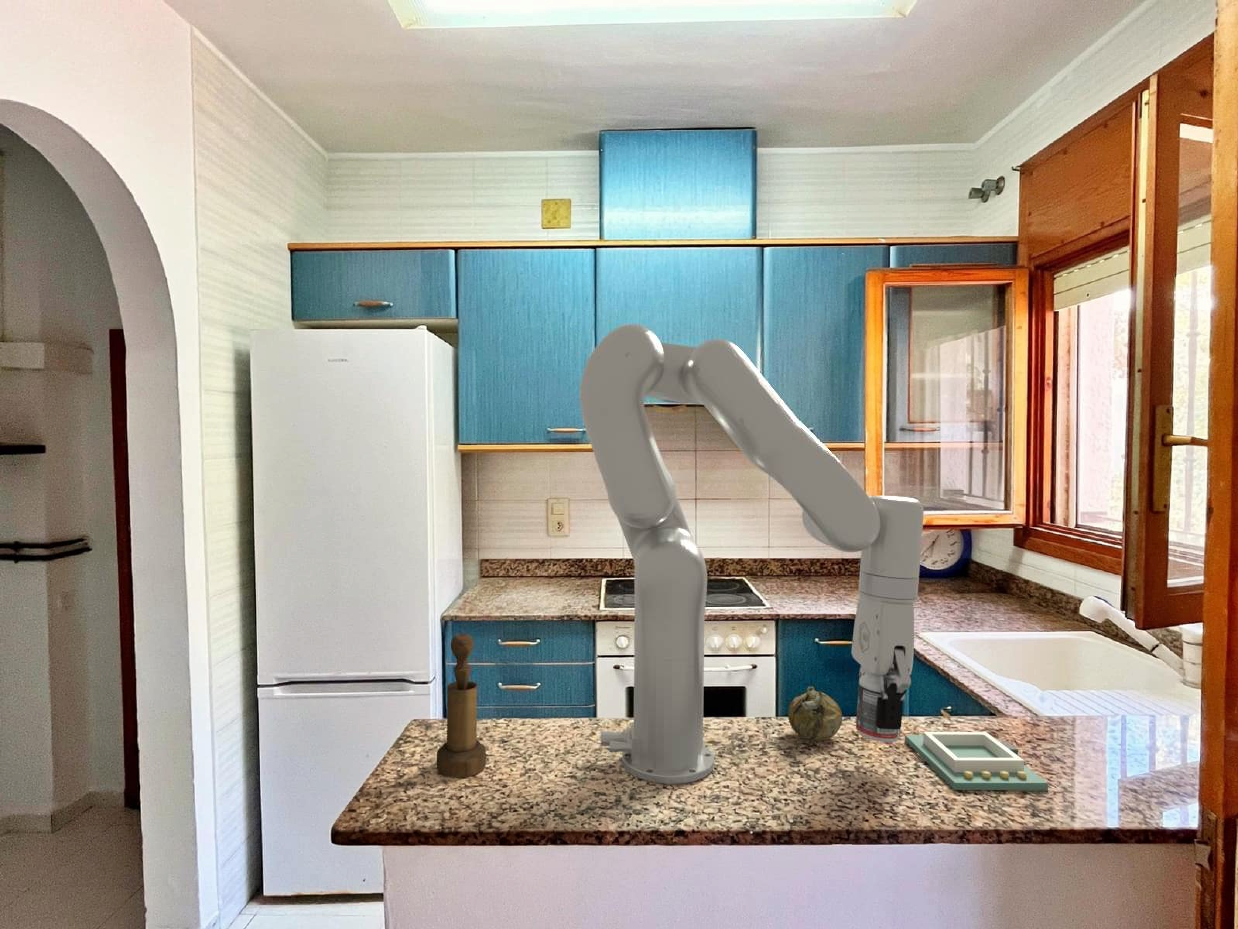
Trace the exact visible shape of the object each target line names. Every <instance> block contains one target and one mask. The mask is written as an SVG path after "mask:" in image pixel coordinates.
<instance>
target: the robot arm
mask: <svg viewBox="0 0 1238 929" xmlns="http://www.w3.org/2000/svg"><path fill="white" fill-rule="evenodd" d="M579 385H580V386H579V404H580V413H581V417H582V420H583V424H584V428H585V431H586V434H587V437H588V440H589V442H590V446H591V448H592V452H593V455H594V459H595V461H596V463H597V467H598V470H599V472H600V475H601V478H602V480H603V483H604V486H605V489H606V492H607V498H608V503H609V505H610V508H611V510H612V512H613V513H614V515H615V516H616V517H617V520H618V522H619V525H620V528H621V531H622V533H623V536H624V539H625V541H626V542H625V543H626V544H627V547H628V549H629V551H630V554H631V557H632V559H633V562H634V580H633V582H634V629H633V630H634V632H633V633H634V634H633V645H634V646H633V649H634V651H633V652H634V656H633V658H634V661H633V662H634V663H633V665H634V666H633V667H634V668H633V669H634V670H633V722H630V729H623V732H621V731H617V732H614V731H611V730H610V731H607V730H606V731H600V747H609V753H619V752H622V753H621V755H622V756H621V763H622V766H623V767H624V769H625V770H626V771H627V772H628V774H631V775H633V776H634V777H636V778H639V779H641V780H643V781H644V780H645V781H647V782H652V783H655V784H656V783H657V784H666V785H678V784H679V785H680V784H687V783H691V782H696V781H699V780H702V779H703V778H705V777H708V775H709V774H711V773H712V771H713V769H714V767H715V757H714V754H713V752H712V751H711V750H710V749H709V748H708V747H707V746H705V745H703V744H704V691H705V690H704V684H705V683H704V681H705V680H704V677H705V676H704V675H705V674H704V672H705V671H704V670H705V620H706V619H705V617H706V616H705V615H706V603H707V593H708V592H707V589H708V588H707V586H708V573H707V572H708V571H707V564H706V560H705V558H704V555H703V552H702V551H701V549H700V547H698V545H697V544H696V542H695V540H694V538H693V536H692V534H691V531H690V528H689V525H688V523H687V520H686V518H685V515H684V512H683V509H682V507H681V505H680V501H679V498H678V495H677V493H676V485H675V482H674V479H673V477H672V475H671V473H670V472H669V470H668V469H667V466H666V465H665V464H666V463H665V462H664V459H663V458H662V455H661V452H660V449H659V447H658V444H657V442H656V439H655V437H654V433H653V429H652V426H651V424H650V421H649V418H648V415H647V412H646V408H645V402H644V401H645V398H649V399H655V400H662V401H670V402H675V403H682V404H683V403H685V404H692V405H703V406H704V407H705V409H707V411H709V413H710V414H711V416H713V418H714V419H715V420H716V421H717V423H718V424H719V425H720V427H722V429H723V430H724V431H725V432H726V434H727V435H728V436H729V438H730V439H731V440H732V442H733V443H734V444H735V445H736V446H737V448H738V449H739V450H740V452H741V453H742V455H744V456H745V457H746V459H748V460H749V461H750V463H752V464H753V465H754V466H755V467H757V468H758V469H759V470H760V471H762V472H763V473H765V474H767V476H769V477H771V478H772V479H773V480H774V481H776V482H777V483H778V484H779V485H780V486H781V487H782V488H783V489H784V490H785V491H786V492H787V493H788V494H789V495H790V496H791V497H792V498H793V500H794V501H795V502H796V503H797V504H798V505H799V506H800V508H801V509H802V512H801V513H802V515H801V518H802V519H801V520H802V523H803V527H804V528H805V530H806V532H807V533H808V534H809V535H810V536H811V537H813V539H815V540H816V541H817V542H819V543H822V544H823V545H824V544H825V545H826V546H829V547H832V548H833V549H835V550H837V551H841V552H843V553H857V552H860V564H859V565H860V566H859V578H858V592H857V594H858V596H859V597H858V601H857V606H856V610H855V617H854V624H853V625H854V626H853V634H852V640H851V641H852V642H851V655H852V658H853V659H854V660H855V661H856V662H857V663H858V664H859V665H860V668H859V673H858V676H859V679H860V678H861V676H862V675H864V674H865V670H864V668H865V669H866V670H868V671H869V672H870V673H871V674H872V675H874V676H879V677H880V693H881V697H878V698H877V712H876V726H877V727H878V728H879V729H896V730H899V729H902V721H903V707H904V706H903V705H904V701H905V700H906V695H905V694H906V693H907V691H908V688H909V687H911V685H912V679H911V676H912V671H913V664H914V653H915V652H914V650H915V609H914V604H916V603H917V602H918V594H919V581H920V577H919V576H920V569H921V568H920V567H921V566H920V565H921V557H922V556H921V554H922V553H921V552H922V551H921V550H922V540H923V528H924V516H925V515H924V512H925V511H924V506H923V504H922V503H921V501H919V500H918V499H915V498H912V497H906V496H895V495H873V496H869V495H868V494H867V492H866V491H865V490H864V488H863V487H862V486H861V485H860V484H859V483H858V481H857V479H855V477H854V476H853V475H852V474H851V472H850V471H849V470H848V469H847V468H846V467H845V465H844V464H843V463H842V462H841V461H840V460H839V459H838V458H837V457H836V456H835V455H834V454H833V453H832V452H831V451H830V450H829V448H827V447H826V446H825V445H824V444H823V443H822V442H821V441H820V440H819V438H817V437H816V436H815V435H814V434H813V433H812V432H811V430H810V429H808V427H807V426H805V424H803V423H802V422H801V421H800V420H799V419H798V418H797V417H796V416H795V414H794V412H792V410H791V409H790V408H789V407H788V406H787V404H785V402H784V401H783V400H782V399H781V398H780V396H779V395H778V393H777V392H776V391H775V390H774V389H773V388H772V386H771V385H770V384H769V382H768V381H767V380H766V379H765V378H764V376H763V375H762V374H761V373H760V371H759V369H757V368H756V366H755V365H754V364H753V363H752V362H751V360H750V359H749V358H748V356H747V355H746V354H745V353H744V352H743V351H742V349H741V348H739V347H738V345H735V344H734V343H733V342H732V341H730V340H726V339H724V338H723V339H722V338H716V339H710V340H707V341H705V342H703V343H701V344H700V345H698V346H690V345H684V344H683V345H681V344H675V343H673V344H672V343H668V342H662V341H660V339H659V337H657V335H656V334H655V333H654V332H653V331H652V330H651V329H649V328H647V327H645V326H643V325H640V324H634V323H632V324H631V323H629V324H624V325H620V326H619V327H617V328H614V329H612V331H610V332H609V333H607V334H606V335H605V336H604V337H603V338H602V339H601V341H600V342H599V343H597V345H596V347H595V348H594V349H593V351H592V352H591V354H590V355H589V357H588V359H587V361H586V363H585V366H584V368H583V372H582V375H581V381H580V384H579ZM863 667H864V668H863ZM888 670H894V671H895V673H896V675H891V674H886V673H887V672H888ZM887 680H895V683H891V684H890V685H889V687H888V686H887Z"/></svg>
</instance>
